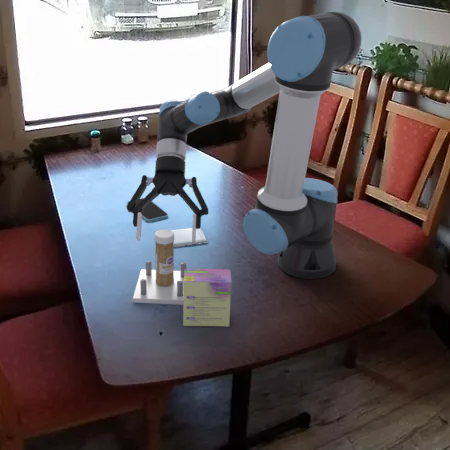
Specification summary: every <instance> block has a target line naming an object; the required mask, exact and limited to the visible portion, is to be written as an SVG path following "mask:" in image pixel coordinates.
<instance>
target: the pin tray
mask: <svg viewBox="0 0 450 450" xmlns="http://www.w3.org/2000/svg"><path fill="white" fill-rule="evenodd" d="M184 269H187V262H185V261H182V262H180V270H174V271H173V275H174V276H173V278H174V282H173V284H171V285H169V286H160V285H158V284H157V283H156V269H153V268H152V261H151V260H146V261H145V268H141V269H140V272H139V276H138V280H137V283H136V287H135V289H134V294H133V297H132V303H136V304H137V303H139V304H158V305H159V304H161V305H180V306H181V305H182V306H183V289H184Z"/></svg>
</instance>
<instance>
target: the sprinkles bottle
mask: <svg viewBox="0 0 450 450" xmlns="http://www.w3.org/2000/svg"><path fill="white" fill-rule="evenodd" d="M171 230H172V229H171ZM171 230H170V229H167V228H166V229H165V228H164V229H159V230H156V232H155V233H154V244H155V251H154V253H155V254H154V255H155V256H154V259H155V260H154V261H155V262H154V263H155V265H154V267H155V270H156V283H157V284H158V285H160V286H169V285H171V284H173V282H174V278H173V276H174V275H173V271H175V258H174V255H175V254H174V247H173V242H174V233H173V232H172V231H171Z"/></svg>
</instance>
